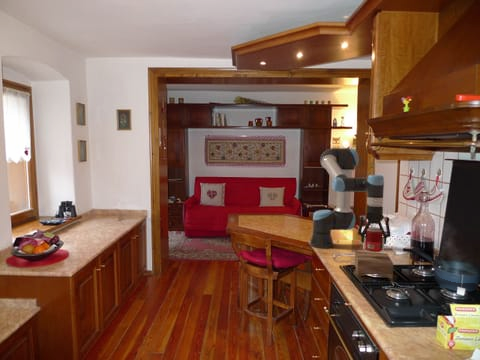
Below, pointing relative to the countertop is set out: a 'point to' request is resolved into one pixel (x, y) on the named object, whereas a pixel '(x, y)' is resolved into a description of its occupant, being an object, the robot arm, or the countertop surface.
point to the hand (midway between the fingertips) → (373, 249)
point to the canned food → (373, 239)
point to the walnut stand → (373, 264)
